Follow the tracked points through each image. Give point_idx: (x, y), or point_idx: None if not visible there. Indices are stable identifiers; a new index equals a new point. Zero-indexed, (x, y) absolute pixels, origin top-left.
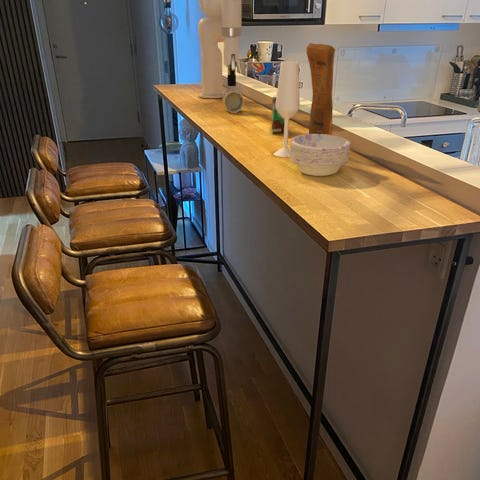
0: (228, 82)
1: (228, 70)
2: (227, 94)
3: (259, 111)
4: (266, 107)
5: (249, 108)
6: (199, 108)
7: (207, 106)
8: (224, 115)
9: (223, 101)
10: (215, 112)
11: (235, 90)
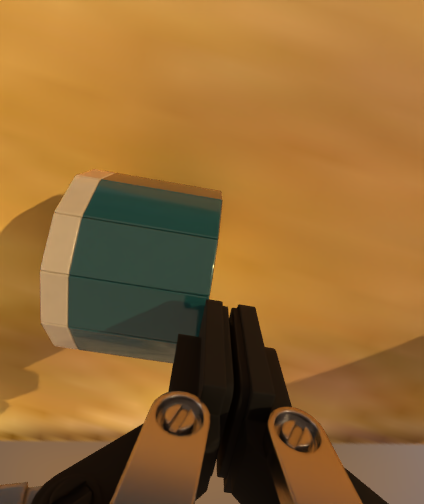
0: (204, 324)
1: (197, 471)
2: (54, 220)
3: (121, 377)
4: None
5: None
6: (360, 8)
7: (415, 110)
8: (18, 137)
9: (120, 177)
10: (146, 102)
11: (67, 319)
